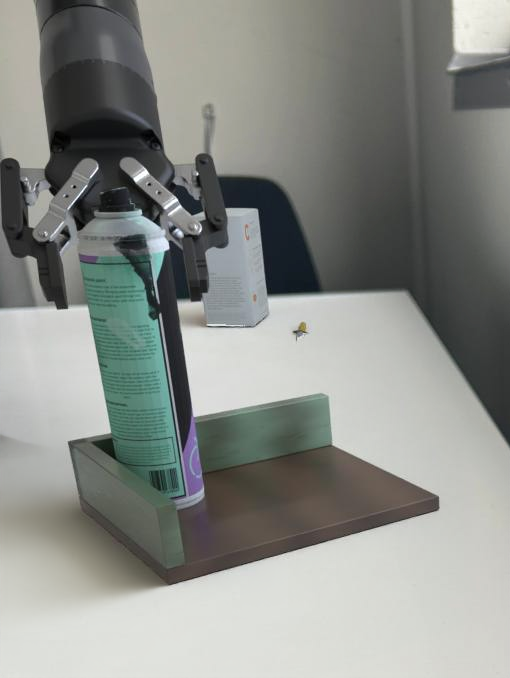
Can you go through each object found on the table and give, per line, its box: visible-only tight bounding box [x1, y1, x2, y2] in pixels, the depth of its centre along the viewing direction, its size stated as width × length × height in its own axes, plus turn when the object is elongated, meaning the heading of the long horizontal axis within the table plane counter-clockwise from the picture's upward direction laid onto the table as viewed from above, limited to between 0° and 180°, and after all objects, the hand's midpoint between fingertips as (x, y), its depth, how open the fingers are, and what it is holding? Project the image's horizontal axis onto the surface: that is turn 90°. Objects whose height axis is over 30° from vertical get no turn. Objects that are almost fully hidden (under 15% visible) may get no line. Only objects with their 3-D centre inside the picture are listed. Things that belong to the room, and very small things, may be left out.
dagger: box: [292, 321, 308, 337], centre depth 123 cm, size 11×1×2 cm
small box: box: [192, 207, 270, 327], centre depth 128 cm, size 8×6×13 cm
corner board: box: [67, 392, 440, 585], centre depth 71 cm, size 20×16×5 cm
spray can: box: [76, 187, 204, 510], centre depth 67 cm, size 6×6×20 cm
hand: (129, 298), depth 67 cm, fingers open, 8 cm apart
